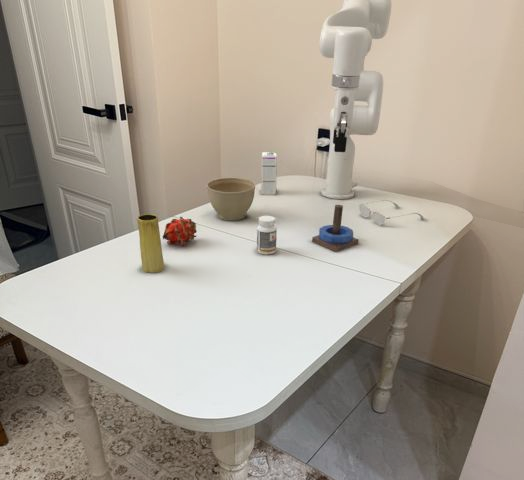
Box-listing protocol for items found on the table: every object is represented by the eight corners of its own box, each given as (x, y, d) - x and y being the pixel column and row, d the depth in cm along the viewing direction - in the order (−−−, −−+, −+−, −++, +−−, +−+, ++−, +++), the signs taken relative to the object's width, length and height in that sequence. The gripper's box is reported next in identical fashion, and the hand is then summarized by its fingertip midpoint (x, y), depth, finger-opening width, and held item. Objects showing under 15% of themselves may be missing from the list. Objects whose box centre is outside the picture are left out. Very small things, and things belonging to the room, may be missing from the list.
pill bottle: (279, 251, 146) (281, 218, 140) (266, 256, 142) (267, 223, 137) (265, 245, 149) (266, 213, 143) (252, 251, 146) (252, 218, 140)
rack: (334, 234, 158) (337, 198, 151) (358, 244, 152) (363, 207, 145) (311, 241, 153) (314, 204, 146) (335, 252, 146) (340, 213, 140)
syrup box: (276, 194, 191) (277, 155, 182) (260, 194, 191) (261, 155, 183) (276, 190, 195) (277, 152, 187) (261, 190, 195) (261, 151, 187)
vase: (156, 261, 138) (150, 211, 130) (169, 268, 135) (164, 217, 127) (137, 267, 135) (130, 216, 127) (150, 275, 131) (144, 223, 123)
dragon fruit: (200, 243, 153) (168, 259, 148) (185, 222, 154) (152, 237, 149) (206, 228, 146) (173, 243, 140) (190, 206, 147) (156, 220, 141)
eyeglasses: (356, 213, 175) (358, 202, 172) (397, 207, 182) (398, 196, 179) (384, 228, 163) (386, 216, 161) (426, 220, 170) (428, 209, 168)
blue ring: (334, 228, 158) (334, 222, 157) (359, 238, 152) (360, 231, 151) (311, 236, 152) (312, 229, 151) (337, 246, 146) (337, 240, 145)
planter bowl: (198, 216, 169) (196, 184, 163) (230, 205, 179) (230, 174, 173) (232, 228, 160) (231, 194, 154) (264, 216, 171) (265, 184, 165)
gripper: (361, 87, 129) (353, 155, 139) (356, 78, 143) (349, 141, 153) (333, 86, 129) (326, 154, 139) (330, 77, 143) (325, 140, 153)
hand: (338, 147), depth 146 cm, fingers open, 9 cm apart
